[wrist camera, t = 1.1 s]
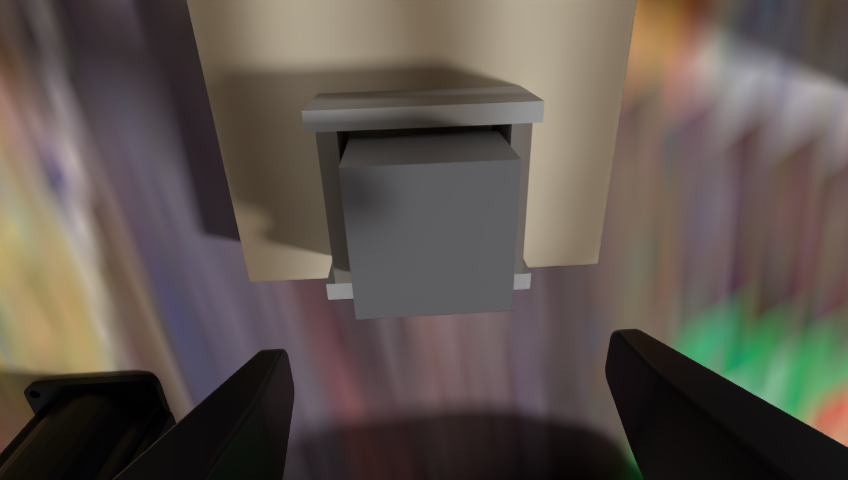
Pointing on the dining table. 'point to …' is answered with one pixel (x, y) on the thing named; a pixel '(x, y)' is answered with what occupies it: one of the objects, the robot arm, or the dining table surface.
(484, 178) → the dark grey square block
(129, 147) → the dining table surface
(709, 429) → the robot arm
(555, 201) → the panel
